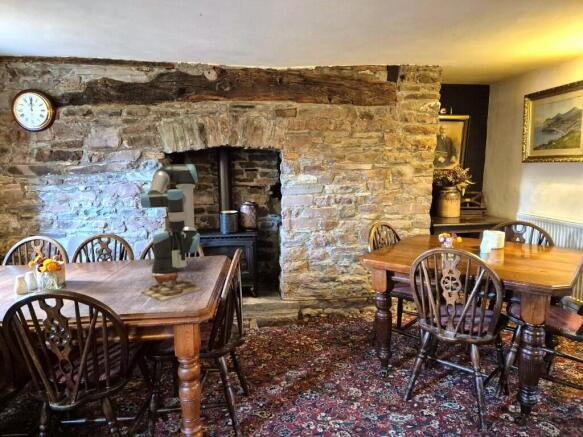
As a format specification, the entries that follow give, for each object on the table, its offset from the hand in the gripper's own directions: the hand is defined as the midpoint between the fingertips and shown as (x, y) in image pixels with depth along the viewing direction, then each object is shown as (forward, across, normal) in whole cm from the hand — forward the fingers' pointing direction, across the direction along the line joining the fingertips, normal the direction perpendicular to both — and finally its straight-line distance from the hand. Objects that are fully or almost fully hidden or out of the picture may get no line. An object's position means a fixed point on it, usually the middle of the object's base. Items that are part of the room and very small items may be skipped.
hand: (179, 265), depth 199 cm
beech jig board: (+12, 0, -5) cm, 13 cm away
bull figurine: (+10, 0, -9) cm, 13 cm away
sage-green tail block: (0, 0, 0) cm, 0 cm away
